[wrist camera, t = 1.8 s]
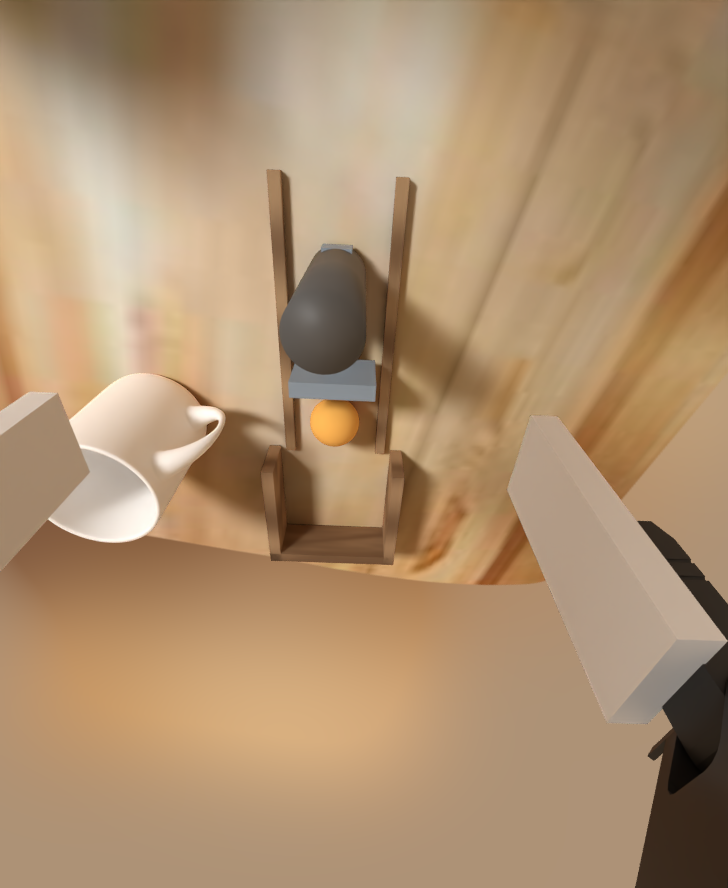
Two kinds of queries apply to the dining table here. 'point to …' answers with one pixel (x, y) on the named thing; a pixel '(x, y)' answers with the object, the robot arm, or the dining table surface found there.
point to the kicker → (329, 329)
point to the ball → (334, 422)
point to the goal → (329, 540)
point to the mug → (134, 456)
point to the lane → (391, 307)
